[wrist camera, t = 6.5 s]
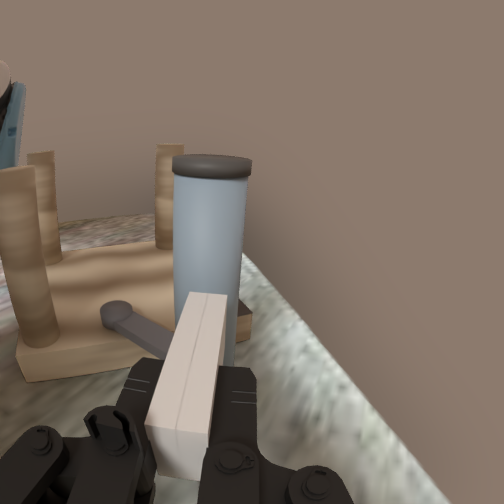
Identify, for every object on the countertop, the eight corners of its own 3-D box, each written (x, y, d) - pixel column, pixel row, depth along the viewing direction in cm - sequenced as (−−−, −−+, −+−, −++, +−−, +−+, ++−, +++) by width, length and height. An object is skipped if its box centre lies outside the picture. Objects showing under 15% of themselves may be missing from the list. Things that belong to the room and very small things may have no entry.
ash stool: (39, 275, 31) (26, 153, 26) (179, 256, 40) (182, 143, 34) (26, 382, 17) (-26, 179, 11) (249, 338, 25) (267, 160, 20)
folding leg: (90, 323, 20) (72, 151, 16) (124, 305, 23) (116, 147, 19) (212, 401, 15) (221, 164, 11) (245, 367, 18) (266, 160, 14)
